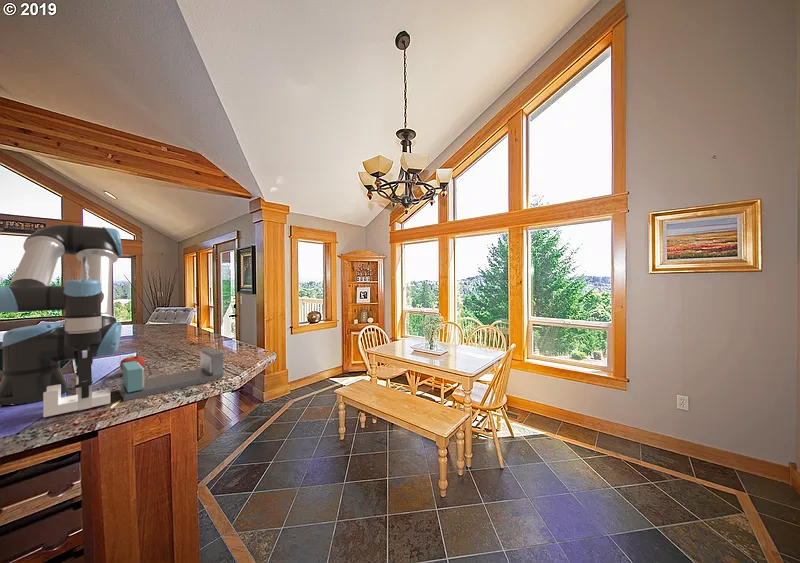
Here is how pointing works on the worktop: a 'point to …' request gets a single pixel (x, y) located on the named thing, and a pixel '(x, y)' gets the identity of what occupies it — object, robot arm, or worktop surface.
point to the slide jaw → (133, 376)
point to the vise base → (168, 383)
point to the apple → (133, 358)
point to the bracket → (69, 400)
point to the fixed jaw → (211, 361)
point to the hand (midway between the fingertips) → (83, 402)
